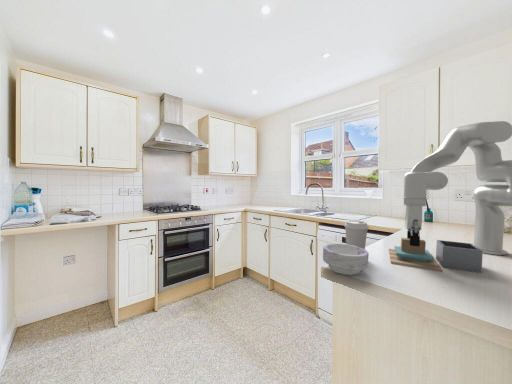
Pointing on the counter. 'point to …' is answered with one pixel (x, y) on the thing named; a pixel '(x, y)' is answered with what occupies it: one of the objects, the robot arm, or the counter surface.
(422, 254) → the lid
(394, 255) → the wooden board
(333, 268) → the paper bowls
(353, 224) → the coffee cup
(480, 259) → the tin
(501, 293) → the counter surface
